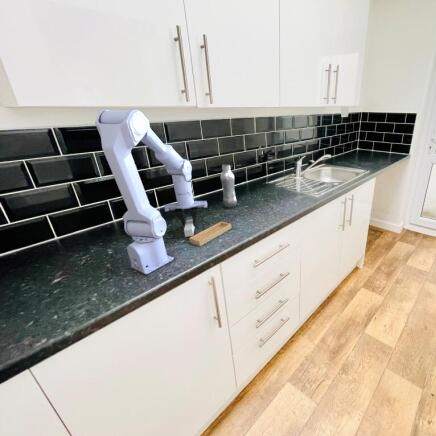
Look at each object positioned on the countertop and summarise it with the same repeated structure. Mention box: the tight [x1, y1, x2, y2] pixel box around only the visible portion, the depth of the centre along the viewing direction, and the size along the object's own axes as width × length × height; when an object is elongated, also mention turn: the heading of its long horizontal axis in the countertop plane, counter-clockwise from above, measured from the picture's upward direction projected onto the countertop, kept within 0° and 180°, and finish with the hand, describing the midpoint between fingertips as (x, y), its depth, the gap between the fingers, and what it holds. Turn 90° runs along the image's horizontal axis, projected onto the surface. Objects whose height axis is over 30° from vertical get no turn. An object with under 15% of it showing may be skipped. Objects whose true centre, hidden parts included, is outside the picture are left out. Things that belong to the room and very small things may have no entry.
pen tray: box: [188, 221, 233, 247], centre depth 96 cm, size 16×5×2 cm, turn 150°
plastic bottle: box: [220, 163, 238, 208], centre depth 120 cm, size 6×7×20 cm
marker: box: [183, 216, 196, 238], centre depth 98 cm, size 12×3×3 cm, turn 15°
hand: (190, 226), depth 98 cm, fingers closed on marker, 3 cm apart
